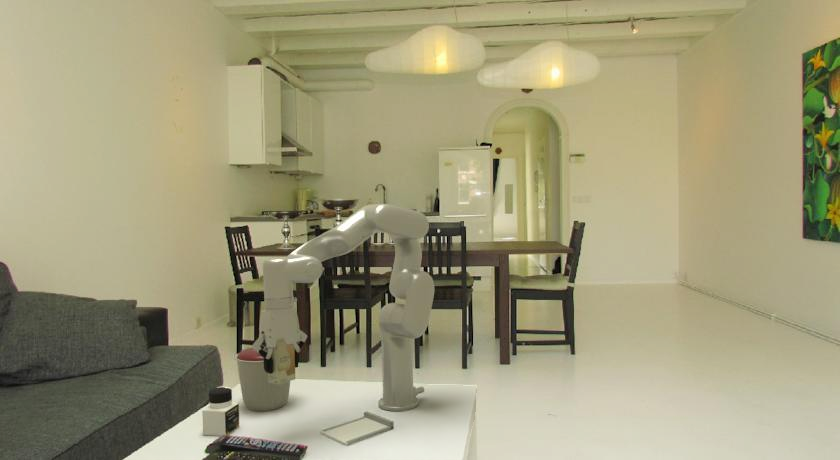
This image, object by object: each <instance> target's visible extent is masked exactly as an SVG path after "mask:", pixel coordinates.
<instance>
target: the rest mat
mask: <svg viewBox="0 0 840 460" xmlns="http://www.w3.org/2000/svg"><path fill="white" fill-rule="evenodd" d="M394 426H395V425H394V421H393V420H391V419H387V418H385V417H383V416H380V415H377V414H374V413H373V412H370V411H364V412H363V416H361V417H359V418H355V419H353V420H350V421H347V422H344V423H340V424H338V425H335V426H331V427H329V428H326V429H323V430H320V431H319V433H320V435H321V436H324V437H326V438H329V439H331V440H333V441H335V442H337V443H338V444H339V443H340V444H341V445H343V446H346V447H347V446H351V445H353V444H357V443H359V442H360V441H364V440H367V439H369V438H373V437H375V436H377V435H380V434H383V433H386V432H388V431H391V430H394V429H395V427H394Z"/></svg>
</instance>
